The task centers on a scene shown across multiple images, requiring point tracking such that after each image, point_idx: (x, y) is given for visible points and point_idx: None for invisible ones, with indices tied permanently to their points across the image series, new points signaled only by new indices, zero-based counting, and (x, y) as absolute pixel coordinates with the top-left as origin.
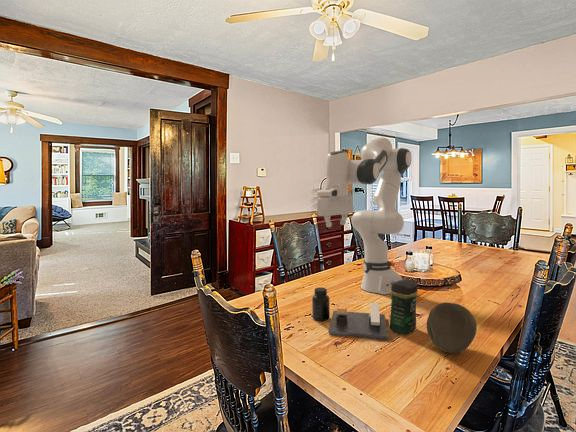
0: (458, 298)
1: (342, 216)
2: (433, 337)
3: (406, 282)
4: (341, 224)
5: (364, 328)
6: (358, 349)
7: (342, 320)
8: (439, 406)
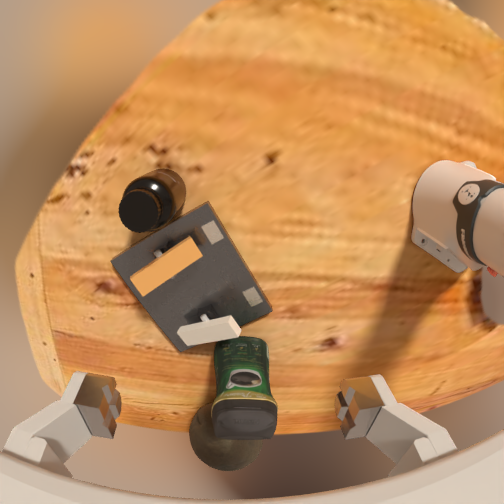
0: (441, 354)
1: (421, 435)
2: (195, 416)
3: (238, 436)
4: (342, 389)
5: (174, 310)
6: (117, 323)
7: None
8: None
